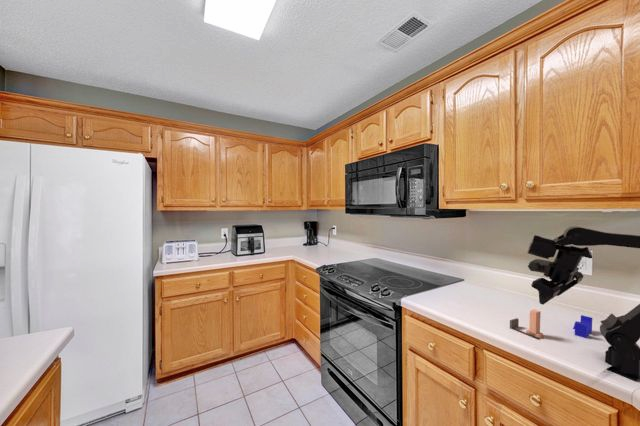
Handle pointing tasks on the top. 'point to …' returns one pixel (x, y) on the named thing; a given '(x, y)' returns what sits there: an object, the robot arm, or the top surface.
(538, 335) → the block
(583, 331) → the cable clip
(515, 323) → the grey block holder
